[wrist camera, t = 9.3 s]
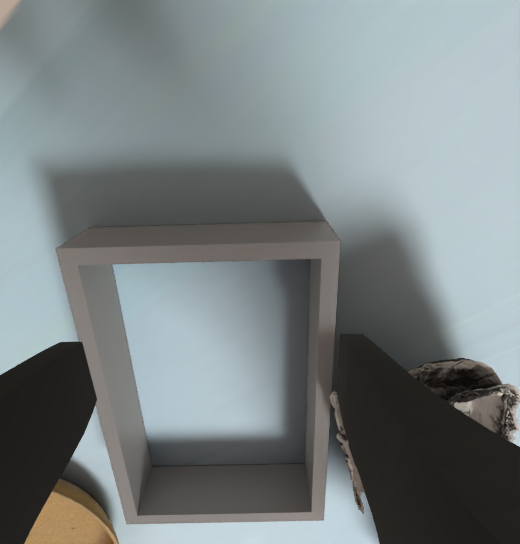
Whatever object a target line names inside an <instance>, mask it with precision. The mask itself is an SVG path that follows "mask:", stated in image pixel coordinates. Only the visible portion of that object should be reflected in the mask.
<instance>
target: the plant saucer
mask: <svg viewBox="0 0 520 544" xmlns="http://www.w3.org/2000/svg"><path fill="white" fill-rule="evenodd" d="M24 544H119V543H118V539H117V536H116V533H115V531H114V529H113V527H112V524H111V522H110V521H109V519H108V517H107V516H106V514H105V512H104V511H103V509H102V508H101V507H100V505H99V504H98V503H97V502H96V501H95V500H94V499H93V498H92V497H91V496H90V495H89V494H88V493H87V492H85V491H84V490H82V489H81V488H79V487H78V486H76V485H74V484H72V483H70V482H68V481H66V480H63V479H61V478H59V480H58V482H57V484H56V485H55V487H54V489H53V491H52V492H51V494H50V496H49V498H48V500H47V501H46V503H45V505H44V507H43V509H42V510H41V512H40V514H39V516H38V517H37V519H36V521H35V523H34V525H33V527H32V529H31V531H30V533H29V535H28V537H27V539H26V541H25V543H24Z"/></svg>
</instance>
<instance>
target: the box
mask: <svg viewBox="0 0 520 544" xmlns="http://www.w3.org/2000/svg"><path fill="white" fill-rule="evenodd" d="M56 253H57V256H58V260H59V264H60V268H61V272H62V276H63V280H64V284H65V287H66V291H67V295H68V299H69V303H70V307H71V311H72V315H73V318H74V322H75V326H76V330H77V334H78V338H79V342H82V343H83V347H84V351H85V354H86V358H87V362H88V366H89V370H90V374H91V378H92V381H93V385H94V389H95V393H96V397H97V402H96V408H97V411H98V415H99V419H100V423H101V427H102V431H103V435H104V439H105V442H106V446H107V450H108V454H109V458H110V462H111V466H112V469H113V473H114V477H115V481H116V485H117V489H118V493H119V497H120V500H121V504H122V508H123V512H124V516H125V520H126V524H164V523H216V522H267V521H318V520H324V508H325V491H326V474H327V458H328V441H329V424H330V407H331V400H330V395H331V391H332V374H333V357H334V341H335V324H336V307H337V290H338V274H339V257H340V240H339V238H338V237H337V235H336V234H335V232H334V231H333V229H332V228H331V226H330V225H329V223H328V222H327V221H307V222H270V223H234V224H198V225H162V226H126V227H90V228H88V229H87V230H85V231H83V232H82V233H80V234H79V235H77V236H75V237H74V238H72V239H70V240H69V241H67V242H66V243H64V244H62V245H61V246H59V247H58V248H56ZM288 259H311V264H310V300H309V337H308V373H307V410H306V447H305V464H263V465H216V466H168V467H152V463H151V458H150V453H149V448H148V443H147V438H146V433H145V427H144V422H143V417H142V412H141V407H140V402H139V397H138V392H137V387H136V382H135V377H134V372H133V367H132V362H131V357H130V352H129V347H128V342H127V337H126V332H125V327H124V322H123V317H122V311H121V306H120V301H119V296H118V291H117V286H116V281H115V276H114V271H113V266H112V264H138V263H175V262H213V261H251V260H288Z"/></svg>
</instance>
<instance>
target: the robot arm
mask: <svg viewBox="0 0 520 544" xmlns="http://www.w3.org/2000/svg"><path fill="white" fill-rule="evenodd" d="M337 397H338V402H339V408H340V413H341V417H342V422H343V427H344V430H345V433H346V437H347V440H348V443H349V446H350V449H351V452H352V455H353V458H354V461H355V464H356V467H357V470H358V473H359V476H360V479H361V482H362V485H363V488H364V491H365V494H366V497H367V500H368V503H369V506H370V509H371V512H372V516H373V519H374V523H375V526H376V530H377V533H378V538H379V542H380V544H520V447H519V446H517V445H515V444H513V443H512V442H510V441H508V440H506V439H505V438H503V437H501V436H499V435H498V434H496V433H494V432H493V431H491V430H489V429H488V428H486V427H485V426H483V425H481V424H480V423H478V422H477V421H475V420H474V419H472V418H470V417H469V416H467V415H466V414H464V413H462V412H461V411H460V410H458V409H457V408H455V407H454V406H452V405H451V404H449V403H448V402H446V401H445V400H444V399H442V398H441V397H440V396H438V395H437V394H435V393H434V392H433V391H431V390H430V389H429V388H427V387H426V386H425V385H423V384H422V383H421V382H419V381H418V380H417V379H416V378H414V377H413V376H412V375H411V374H409V373H408V372H407V371H406V370H404V369H403V368H402V367H401V366H400V365H398V364H397V363H396V362H395V361H394V360H392V359H391V358H390V357H389V356H388V355H387V354H386V353H384V352H383V351H382V350H381V349H380V348H379V347H378V346H376V345H375V344H374V343H373V342H372V341H371V340H369V339H368V338H367V337H366V336H365V335H363V334H340V348H339V364H338V381H337ZM96 402H97V397H96V393H95V389H94V385H93V381H92V378H91V374H90V370H89V366H88V362H87V358H86V354H85V351H84V347H83V343H82V342H60V343H58V344H56V345H53V346H51V347H49V348H47V349H46V350H44V351H42V352H40V353H38V354H36V355H35V356H33V357H31V358H29V359H28V360H26V361H24V362H22V363H21V364H19V365H17V366H15V367H14V368H12V369H10V370H8V371H7V372H5V373H3V374H2V375H0V544H24V543H25V541H26V539H27V537H28V535H29V533H30V531H31V529H32V527H33V525H34V523H35V521H36V519H37V517H38V516H39V514H40V512H41V510H42V509H43V507H44V505H45V503H46V501H47V500H48V498H49V496H50V494H51V492H52V491H53V489H54V487H55V485H56V484H57V482H58V480H59V478H60V476H61V475H62V473H63V471H64V469H65V468H66V466H67V464H68V462H69V460H70V459H71V457H72V455H73V453H74V451H75V449H76V448H77V446H78V444H79V442H80V440H81V438H82V436H83V435H84V432H85V430H86V427H87V425H88V423H89V420H90V418H91V415H92V412H93V410H94V407H95V404H96Z"/></svg>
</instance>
